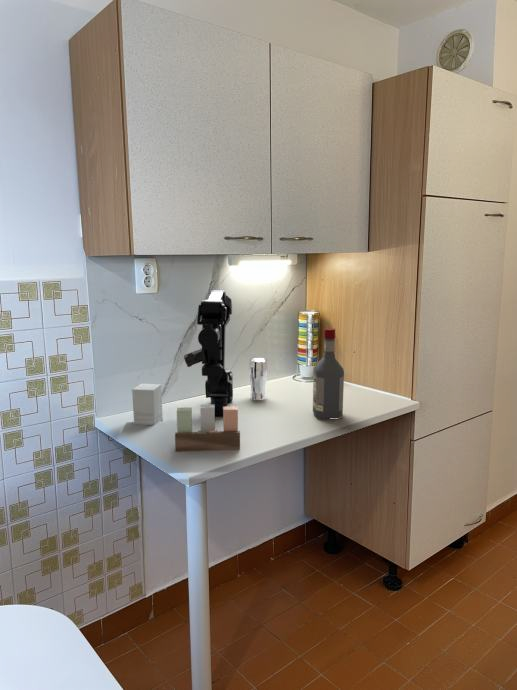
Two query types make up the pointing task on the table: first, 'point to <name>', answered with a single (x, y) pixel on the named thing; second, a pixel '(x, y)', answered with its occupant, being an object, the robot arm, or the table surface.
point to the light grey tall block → (207, 417)
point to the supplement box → (147, 404)
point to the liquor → (328, 382)
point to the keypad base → (207, 440)
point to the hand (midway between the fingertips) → (212, 391)
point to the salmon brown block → (230, 418)
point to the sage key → (184, 419)
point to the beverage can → (231, 383)
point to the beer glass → (258, 378)
